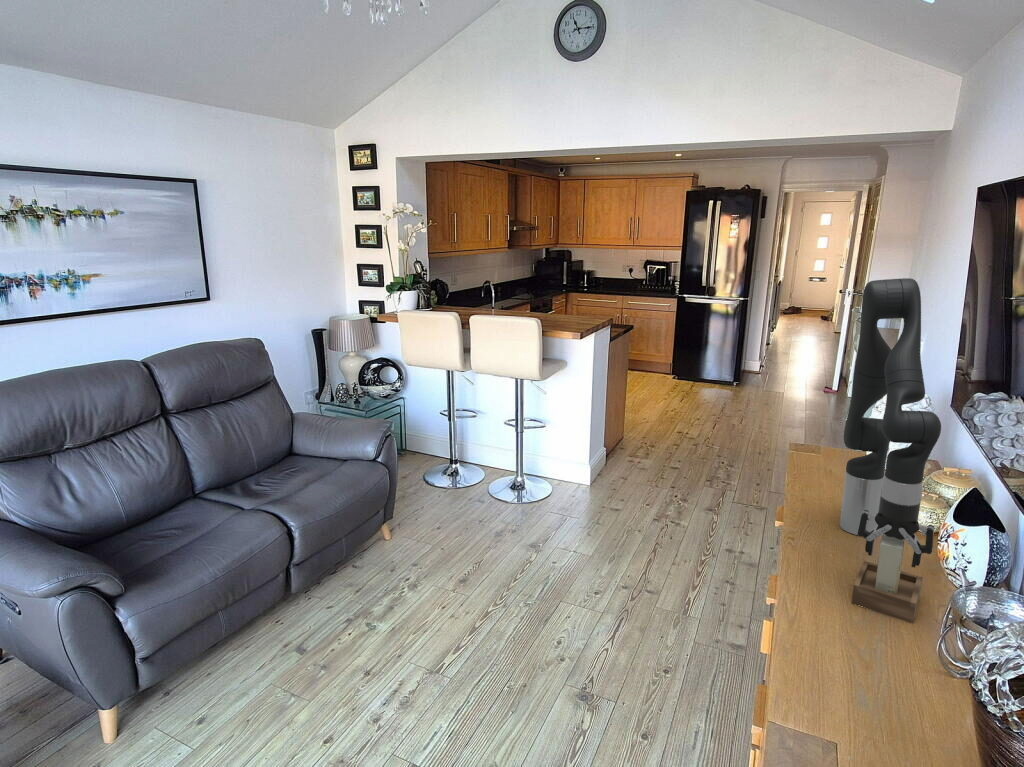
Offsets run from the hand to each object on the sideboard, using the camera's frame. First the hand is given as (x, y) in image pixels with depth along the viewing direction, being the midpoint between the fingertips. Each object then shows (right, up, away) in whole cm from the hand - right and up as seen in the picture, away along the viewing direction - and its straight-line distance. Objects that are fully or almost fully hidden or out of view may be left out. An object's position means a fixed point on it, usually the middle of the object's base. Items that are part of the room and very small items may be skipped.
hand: (891, 559), depth 135 cm
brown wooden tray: (0, -11, +3) cm, 11 cm away
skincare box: (0, -7, +2) cm, 7 cm away
